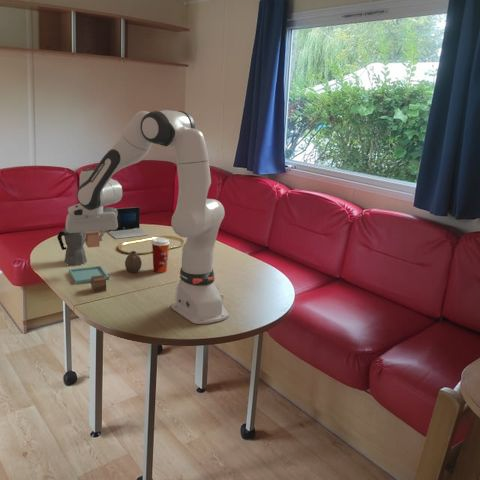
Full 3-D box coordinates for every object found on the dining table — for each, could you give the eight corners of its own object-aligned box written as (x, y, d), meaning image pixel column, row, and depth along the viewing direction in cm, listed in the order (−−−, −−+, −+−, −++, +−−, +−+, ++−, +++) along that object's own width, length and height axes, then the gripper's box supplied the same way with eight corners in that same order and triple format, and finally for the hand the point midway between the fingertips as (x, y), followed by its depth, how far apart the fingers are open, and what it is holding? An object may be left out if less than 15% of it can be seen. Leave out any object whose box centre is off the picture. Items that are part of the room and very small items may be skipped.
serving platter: (110, 247, 234) (110, 244, 234) (170, 236, 258) (170, 233, 257) (130, 258, 222) (130, 255, 221) (191, 246, 245) (191, 243, 244)
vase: (144, 269, 208) (144, 250, 205) (136, 275, 202) (136, 255, 199) (129, 267, 210) (129, 248, 207) (122, 272, 203) (121, 253, 201)
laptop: (115, 239, 246) (115, 215, 242) (107, 233, 256) (107, 209, 252) (148, 235, 256) (148, 212, 252) (139, 229, 265) (139, 206, 261)
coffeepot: (79, 256, 219) (78, 217, 213) (94, 260, 215) (93, 221, 209) (51, 265, 206) (49, 224, 201) (67, 270, 202) (65, 229, 196)
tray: (108, 279, 195) (108, 276, 194) (75, 284, 189) (75, 280, 188) (100, 269, 206) (100, 265, 205) (69, 272, 199) (69, 269, 199)
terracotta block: (96, 243, 200) (96, 231, 198) (99, 246, 196) (99, 234, 194) (85, 244, 197) (85, 232, 196) (88, 247, 194) (87, 235, 192)
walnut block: (106, 291, 185) (106, 279, 183) (94, 292, 183) (94, 280, 181) (103, 286, 188) (102, 274, 187) (91, 288, 186) (91, 276, 185)
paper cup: (165, 274, 204) (166, 243, 200) (148, 272, 206) (148, 241, 201) (171, 268, 212) (172, 238, 207) (155, 266, 213) (155, 236, 209)
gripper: (115, 205, 200) (115, 236, 204) (63, 207, 190) (65, 241, 194) (119, 208, 195) (119, 241, 199) (67, 211, 185) (68, 246, 189)
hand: (92, 241), depth 196 cm, fingers closed on terracotta block, 4 cm apart
